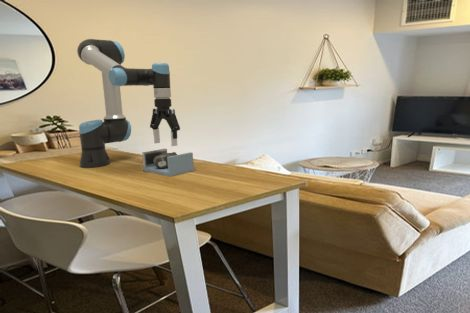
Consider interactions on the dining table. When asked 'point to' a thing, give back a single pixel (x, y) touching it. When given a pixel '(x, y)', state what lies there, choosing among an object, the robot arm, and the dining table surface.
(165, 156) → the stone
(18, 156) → the dining table surface
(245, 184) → the dining table surface
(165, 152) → the jaw
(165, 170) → the vise
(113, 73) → the robot arm
